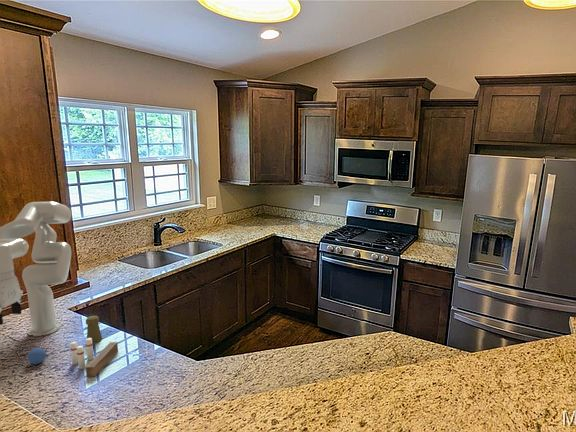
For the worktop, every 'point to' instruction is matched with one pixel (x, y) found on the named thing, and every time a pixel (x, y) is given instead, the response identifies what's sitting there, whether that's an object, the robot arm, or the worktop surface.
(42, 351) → the ball
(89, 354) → the back left pin
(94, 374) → the wall
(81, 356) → the back right pin
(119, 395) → the worktop surface
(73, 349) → the front pin
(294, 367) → the worktop surface
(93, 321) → the cork
